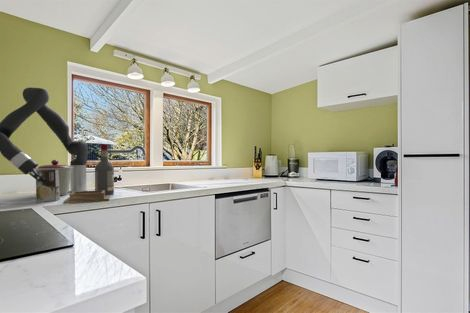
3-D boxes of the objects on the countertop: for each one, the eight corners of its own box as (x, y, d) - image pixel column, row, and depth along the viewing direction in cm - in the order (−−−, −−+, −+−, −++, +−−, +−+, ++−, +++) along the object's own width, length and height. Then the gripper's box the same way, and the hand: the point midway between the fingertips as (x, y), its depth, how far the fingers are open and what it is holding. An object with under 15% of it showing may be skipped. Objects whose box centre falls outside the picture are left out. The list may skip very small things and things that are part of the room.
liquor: (94, 196, 160) (93, 144, 160) (98, 194, 169) (98, 144, 169) (111, 195, 162) (110, 144, 162) (114, 193, 170) (114, 144, 171)
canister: (78, 194, 166) (78, 159, 166) (44, 198, 151) (44, 160, 151) (64, 192, 176) (63, 159, 177) (30, 196, 162) (30, 160, 162)
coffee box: (60, 199, 148) (60, 169, 148) (56, 201, 142) (55, 169, 142) (40, 200, 146) (40, 169, 146) (35, 202, 140) (35, 170, 140)
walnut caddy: (68, 198, 149) (68, 191, 149) (109, 196, 157) (109, 189, 157) (63, 203, 135) (63, 195, 135) (108, 200, 142) (108, 192, 142)
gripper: (26, 157, 135) (54, 180, 139) (34, 157, 148) (60, 178, 152) (12, 168, 133) (42, 192, 137) (22, 167, 146) (49, 189, 150)
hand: (51, 185), depth 145 cm, fingers closed on coffee box, 7 cm apart
